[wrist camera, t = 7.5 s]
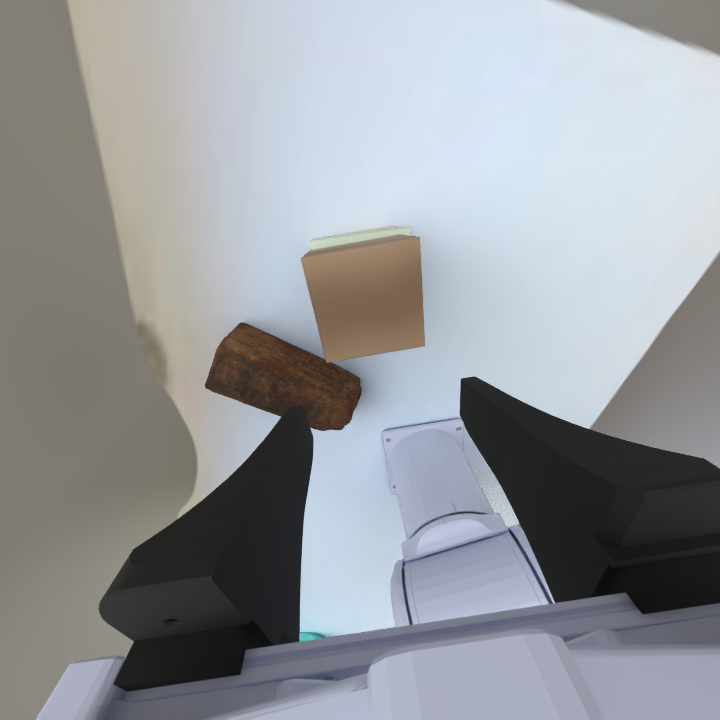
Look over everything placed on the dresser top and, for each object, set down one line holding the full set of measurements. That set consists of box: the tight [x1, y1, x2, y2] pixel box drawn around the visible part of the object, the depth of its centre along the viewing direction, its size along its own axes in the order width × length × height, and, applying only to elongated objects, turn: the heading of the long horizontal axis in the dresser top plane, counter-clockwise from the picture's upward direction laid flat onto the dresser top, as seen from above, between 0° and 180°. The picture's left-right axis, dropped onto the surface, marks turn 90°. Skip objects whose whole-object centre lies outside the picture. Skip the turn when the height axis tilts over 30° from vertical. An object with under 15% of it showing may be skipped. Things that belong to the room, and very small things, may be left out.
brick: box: [205, 323, 362, 431], centre depth 21 cm, size 11×4×5 cm, turn 60°
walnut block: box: [301, 234, 425, 363], centre depth 12 cm, size 4×4×4 cm
